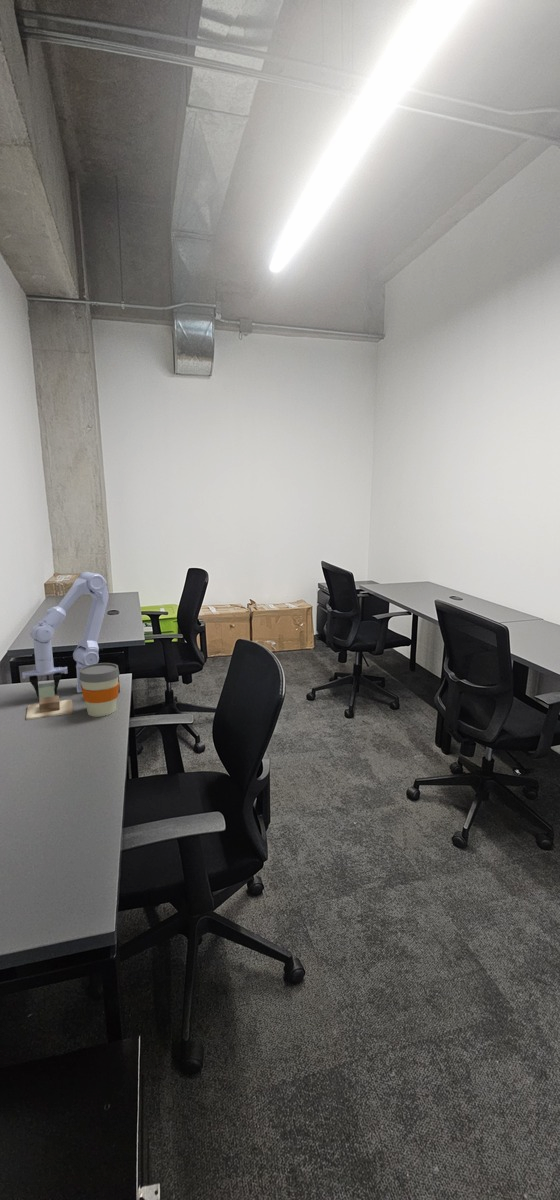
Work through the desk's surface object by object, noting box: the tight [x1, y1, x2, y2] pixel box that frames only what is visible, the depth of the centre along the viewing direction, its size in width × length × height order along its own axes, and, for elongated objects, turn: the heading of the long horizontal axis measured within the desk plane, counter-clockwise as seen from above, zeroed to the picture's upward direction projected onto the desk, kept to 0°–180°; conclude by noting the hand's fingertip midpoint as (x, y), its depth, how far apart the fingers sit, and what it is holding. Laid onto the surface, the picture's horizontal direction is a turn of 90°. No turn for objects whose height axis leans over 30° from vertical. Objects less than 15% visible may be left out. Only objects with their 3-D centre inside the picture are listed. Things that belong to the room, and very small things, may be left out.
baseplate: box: [25, 695, 74, 721], centre depth 170 cm, size 14×12×4 cm
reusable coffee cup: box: [79, 662, 120, 717], centre depth 168 cm, size 13×13×15 cm
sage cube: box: [38, 681, 56, 701], centre depth 180 cm, size 5×5×5 cm
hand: (47, 694), depth 181 cm, fingers closed on sage cube, 5 cm apart
